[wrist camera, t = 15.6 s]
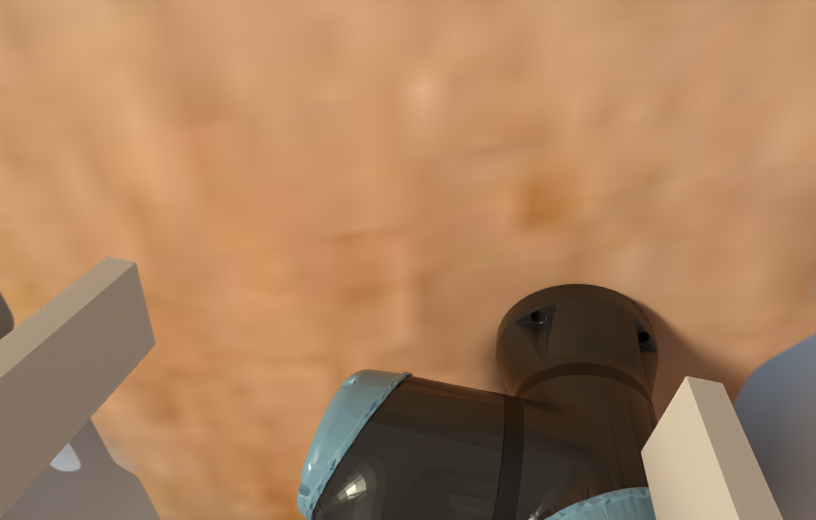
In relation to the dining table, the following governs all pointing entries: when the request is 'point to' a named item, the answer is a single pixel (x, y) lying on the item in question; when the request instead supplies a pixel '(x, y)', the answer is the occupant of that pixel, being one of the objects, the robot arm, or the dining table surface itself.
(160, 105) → the dining table surface
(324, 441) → the robot arm
